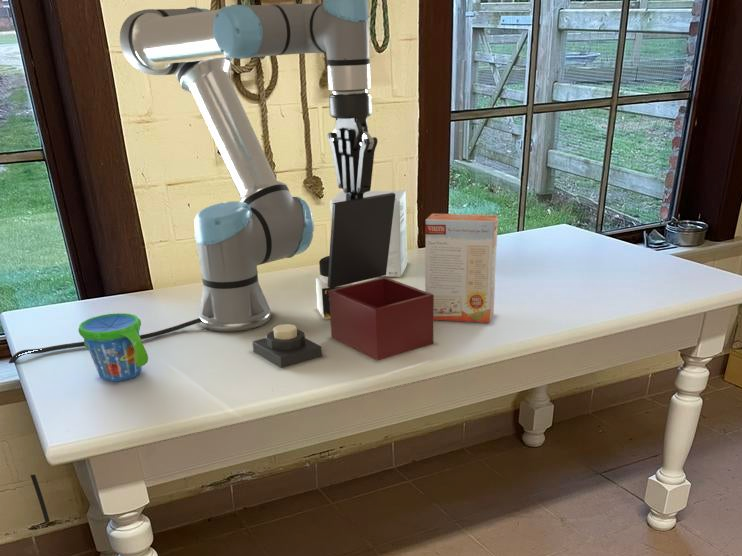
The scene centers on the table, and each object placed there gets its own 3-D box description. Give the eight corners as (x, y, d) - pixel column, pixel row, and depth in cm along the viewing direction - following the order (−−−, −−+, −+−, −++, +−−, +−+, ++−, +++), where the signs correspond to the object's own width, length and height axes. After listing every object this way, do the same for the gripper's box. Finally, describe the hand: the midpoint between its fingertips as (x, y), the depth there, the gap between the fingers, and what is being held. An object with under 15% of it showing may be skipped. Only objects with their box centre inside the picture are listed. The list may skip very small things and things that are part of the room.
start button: (301, 337, 151) (300, 328, 150) (281, 342, 149) (280, 333, 148) (289, 331, 154) (288, 322, 153) (270, 336, 152) (269, 327, 151)
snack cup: (73, 373, 148) (60, 320, 142) (123, 356, 154) (112, 305, 149) (118, 395, 139) (105, 340, 133) (168, 377, 145) (158, 323, 140)
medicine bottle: (323, 319, 170) (320, 263, 163) (317, 309, 176) (313, 255, 169) (355, 316, 171) (353, 260, 165) (348, 306, 177) (345, 251, 171)
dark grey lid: (395, 194, 150) (392, 192, 150) (335, 204, 143) (332, 202, 144) (386, 275, 161) (383, 273, 162) (329, 288, 154) (327, 286, 155)
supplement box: (408, 263, 206) (407, 189, 196) (401, 277, 194) (400, 200, 185) (343, 262, 208) (339, 189, 198) (333, 276, 197) (328, 200, 187)
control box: (322, 357, 152) (320, 337, 150) (281, 368, 147) (279, 348, 145) (292, 341, 159) (291, 322, 157) (253, 351, 155) (251, 332, 153)
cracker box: (494, 315, 170) (499, 213, 158) (489, 324, 165) (494, 220, 154) (430, 311, 173) (431, 211, 162) (424, 320, 168) (424, 218, 157)
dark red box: (433, 343, 156) (433, 294, 151) (377, 360, 149) (375, 309, 144) (386, 323, 167) (384, 276, 162) (331, 338, 160) (328, 290, 155)
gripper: (388, 92, 137) (391, 232, 150) (346, 88, 146) (352, 220, 159) (353, 95, 133) (359, 238, 146) (312, 91, 142) (321, 226, 155)
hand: (355, 229), depth 152 cm, fingers closed
